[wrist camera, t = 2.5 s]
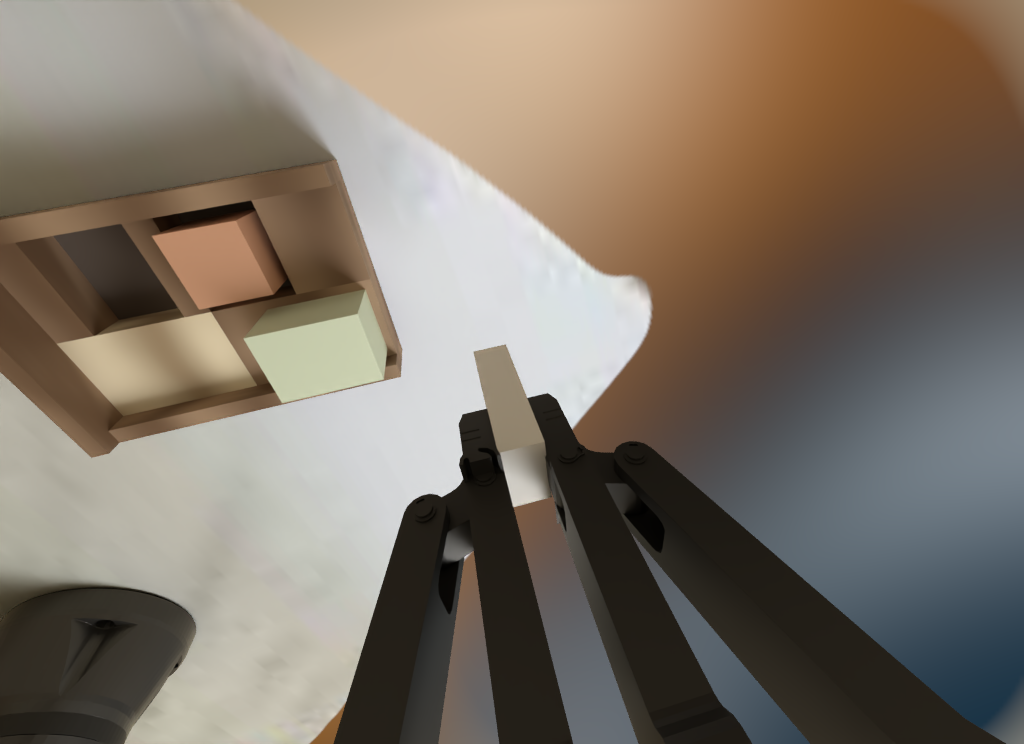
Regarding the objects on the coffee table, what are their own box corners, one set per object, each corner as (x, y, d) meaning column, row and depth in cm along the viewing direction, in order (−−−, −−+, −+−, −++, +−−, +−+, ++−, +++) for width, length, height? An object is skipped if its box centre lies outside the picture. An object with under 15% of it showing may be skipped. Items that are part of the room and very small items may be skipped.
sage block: (299, 368, 26) (282, 403, 23) (267, 309, 24) (243, 338, 20) (387, 348, 27) (383, 379, 23) (365, 289, 24) (357, 314, 21)
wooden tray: (139, 408, 28) (91, 457, 23) (-25, 221, 20) (-136, 244, 16) (402, 349, 30) (400, 384, 25) (336, 159, 22) (318, 165, 18)
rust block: (228, 285, 24) (199, 309, 21) (190, 220, 22) (151, 236, 19) (292, 272, 25) (273, 294, 22) (261, 207, 23) (235, 220, 19)
